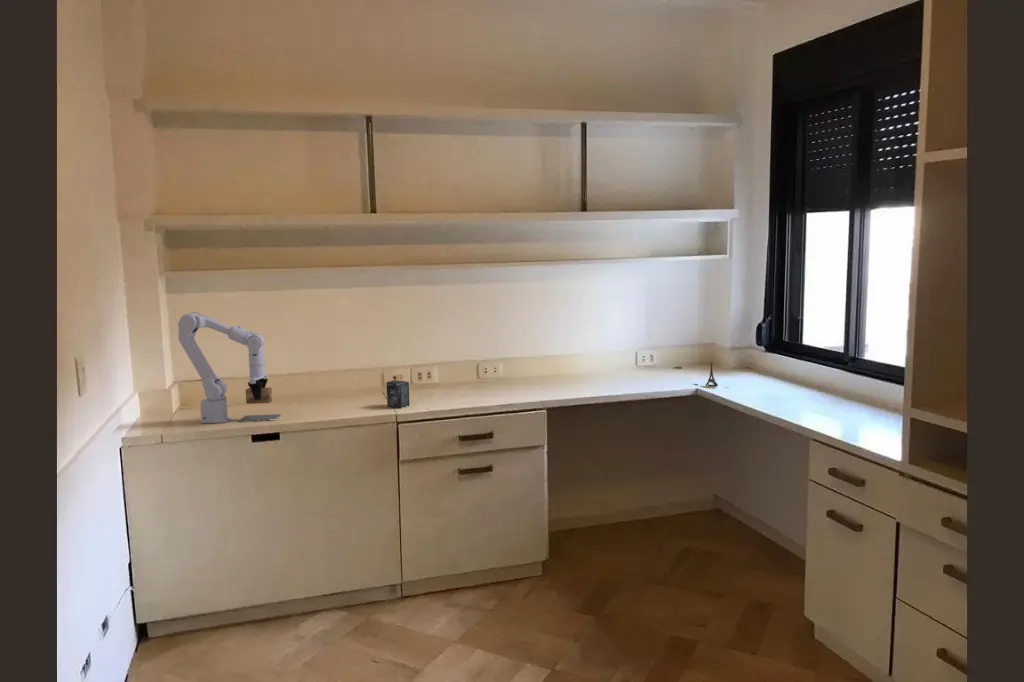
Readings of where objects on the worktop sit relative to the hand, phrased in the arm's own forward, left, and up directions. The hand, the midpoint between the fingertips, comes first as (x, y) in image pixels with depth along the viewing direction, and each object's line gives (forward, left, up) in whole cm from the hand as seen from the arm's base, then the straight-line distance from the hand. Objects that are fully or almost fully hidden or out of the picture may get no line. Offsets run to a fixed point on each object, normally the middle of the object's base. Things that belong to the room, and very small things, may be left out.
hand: (259, 398), depth 302 cm
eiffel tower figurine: (+194, +31, -9) cm, 197 cm away
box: (+54, +14, -9) cm, 56 cm away
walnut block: (0, 0, -2) cm, 2 cm away
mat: (0, +1, -8) cm, 8 cm away
